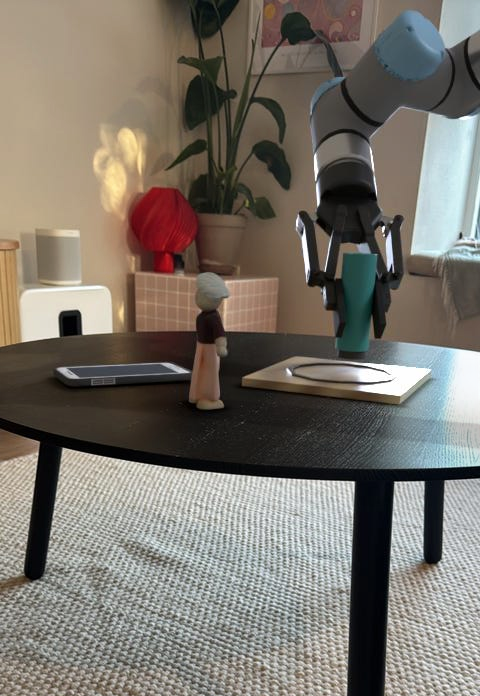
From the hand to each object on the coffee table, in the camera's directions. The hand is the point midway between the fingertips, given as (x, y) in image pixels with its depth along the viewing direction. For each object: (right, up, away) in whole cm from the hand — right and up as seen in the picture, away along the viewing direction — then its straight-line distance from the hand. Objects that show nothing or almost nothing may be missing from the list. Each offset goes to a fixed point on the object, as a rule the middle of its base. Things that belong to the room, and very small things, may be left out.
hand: (360, 330), depth 87 cm
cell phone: (-27, -6, -1) cm, 28 cm away
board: (-2, -5, +2) cm, 6 cm away
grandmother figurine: (-17, -11, -12) cm, 24 cm away
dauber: (0, -2, +5) cm, 5 cm away
